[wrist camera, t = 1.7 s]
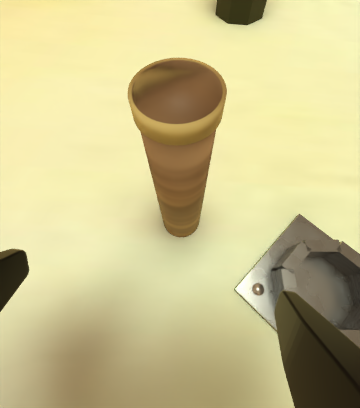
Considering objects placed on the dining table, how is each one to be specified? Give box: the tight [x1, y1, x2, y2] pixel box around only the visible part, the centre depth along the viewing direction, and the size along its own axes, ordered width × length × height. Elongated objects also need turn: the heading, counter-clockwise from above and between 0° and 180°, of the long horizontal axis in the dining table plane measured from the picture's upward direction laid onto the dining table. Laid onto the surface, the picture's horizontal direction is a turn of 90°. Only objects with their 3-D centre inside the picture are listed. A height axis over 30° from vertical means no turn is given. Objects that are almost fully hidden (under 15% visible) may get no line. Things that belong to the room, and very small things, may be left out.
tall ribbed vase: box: [128, 58, 227, 237], centre depth 16 cm, size 4×4×15 cm
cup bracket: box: [234, 214, 360, 347], centre depth 18 cm, size 10×10×3 cm
